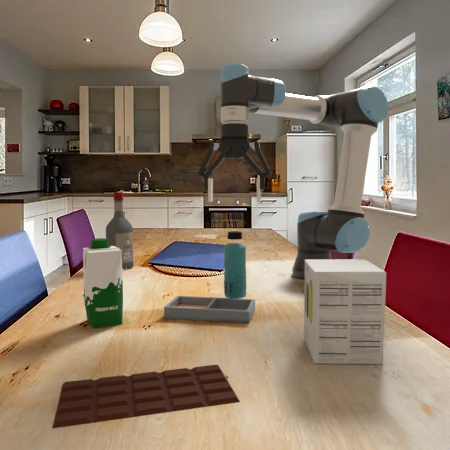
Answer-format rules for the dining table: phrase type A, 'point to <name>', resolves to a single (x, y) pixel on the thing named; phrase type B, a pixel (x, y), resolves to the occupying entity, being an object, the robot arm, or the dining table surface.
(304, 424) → the dining table surface
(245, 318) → the tray
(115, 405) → the chocolate bar
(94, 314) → the milk carton
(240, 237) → the beverage bottle
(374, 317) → the supplement box
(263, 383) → the dining table surface
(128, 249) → the liquor
